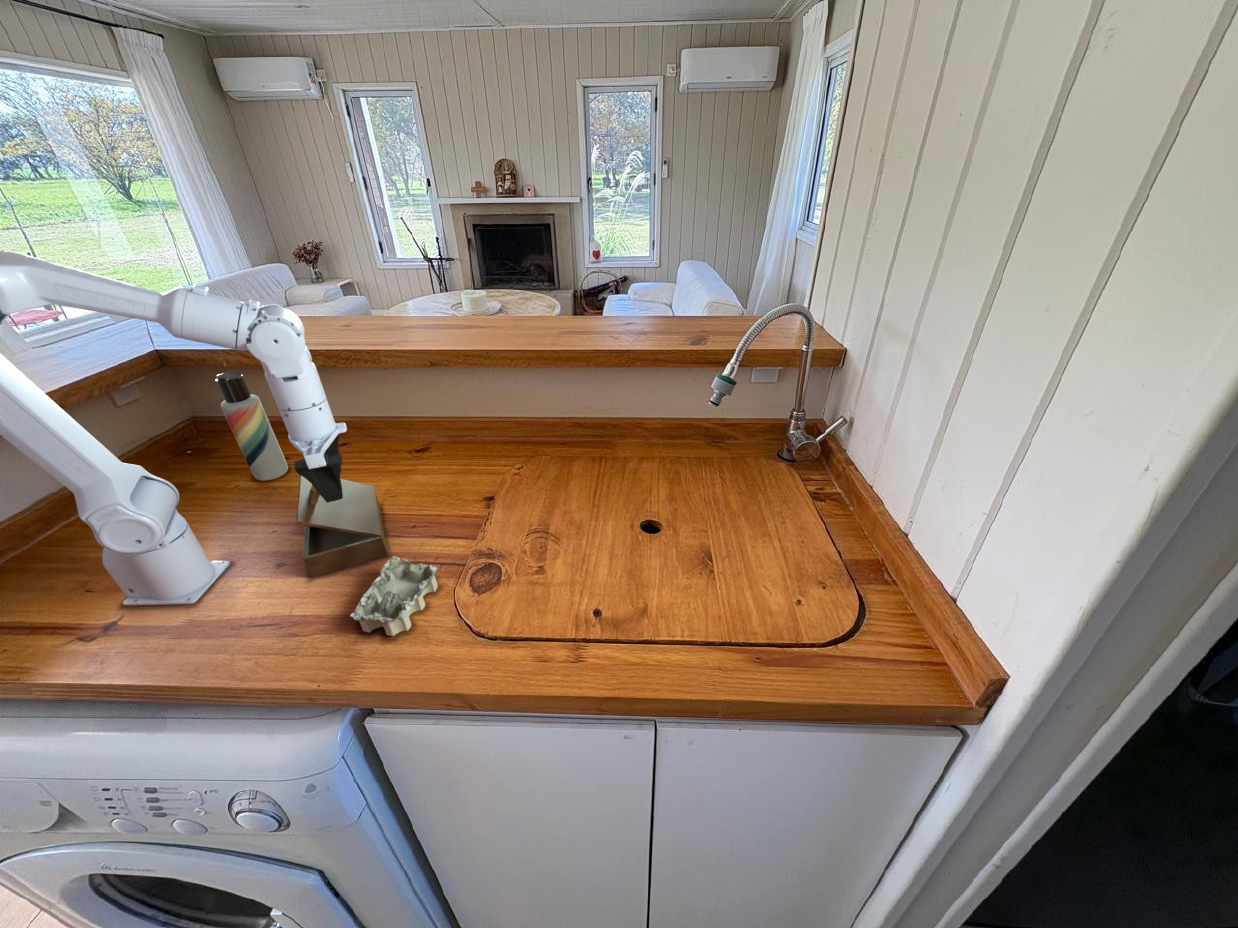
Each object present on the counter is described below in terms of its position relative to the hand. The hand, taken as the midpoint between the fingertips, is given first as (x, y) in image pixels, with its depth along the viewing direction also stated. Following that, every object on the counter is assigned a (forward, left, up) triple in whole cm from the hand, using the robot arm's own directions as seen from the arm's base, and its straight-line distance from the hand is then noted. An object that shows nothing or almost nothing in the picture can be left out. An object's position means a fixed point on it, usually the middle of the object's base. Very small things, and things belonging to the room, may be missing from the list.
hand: (334, 485), depth 73 cm
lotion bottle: (-24, +20, -10) cm, 32 cm away
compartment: (-1, 0, -10) cm, 10 cm away
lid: (0, 0, -3) cm, 3 cm away
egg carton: (+12, -14, -10) cm, 21 cm away
